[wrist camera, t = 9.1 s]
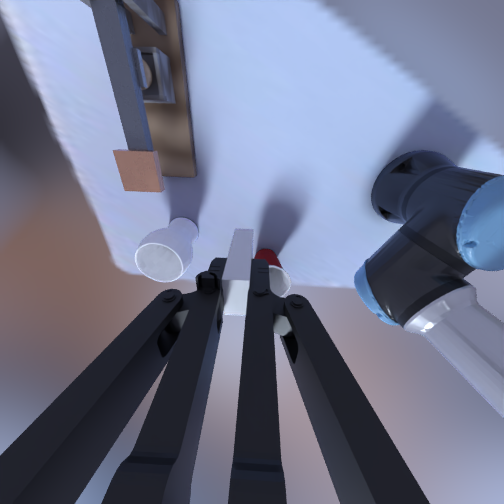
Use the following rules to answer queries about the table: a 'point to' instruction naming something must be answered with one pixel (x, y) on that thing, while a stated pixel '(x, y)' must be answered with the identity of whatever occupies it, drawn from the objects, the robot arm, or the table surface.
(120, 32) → the lever
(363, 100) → the table surface
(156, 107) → the press base
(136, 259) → the cup
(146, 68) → the walnut
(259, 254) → the plastic cup
